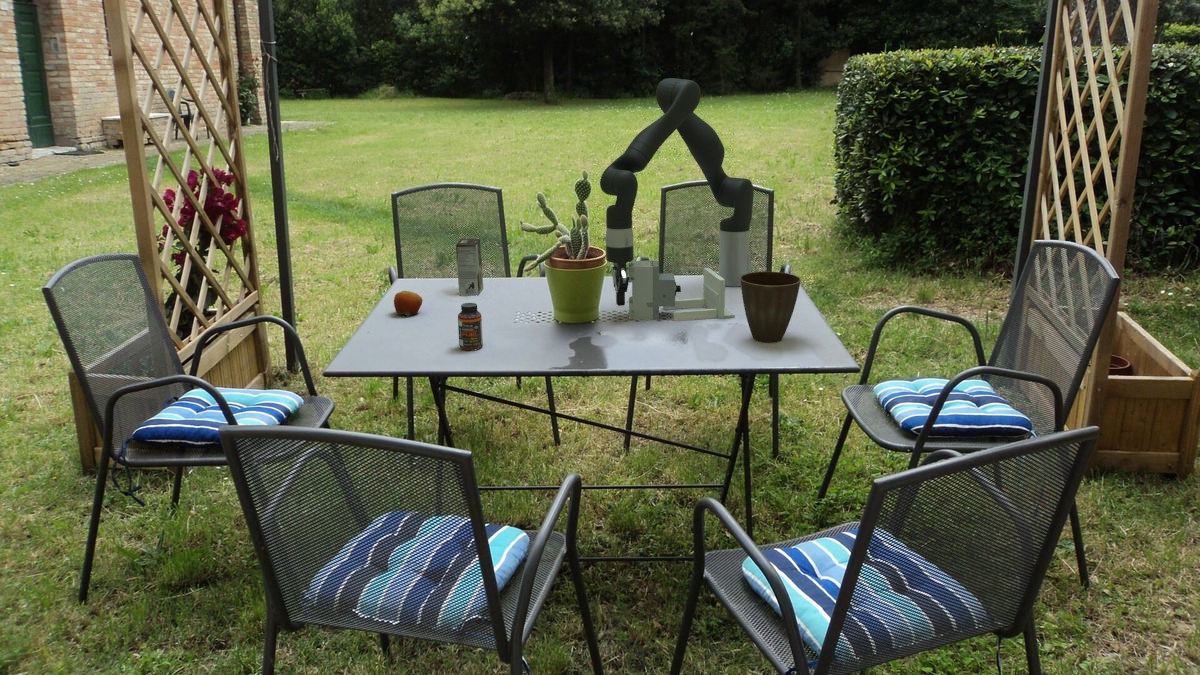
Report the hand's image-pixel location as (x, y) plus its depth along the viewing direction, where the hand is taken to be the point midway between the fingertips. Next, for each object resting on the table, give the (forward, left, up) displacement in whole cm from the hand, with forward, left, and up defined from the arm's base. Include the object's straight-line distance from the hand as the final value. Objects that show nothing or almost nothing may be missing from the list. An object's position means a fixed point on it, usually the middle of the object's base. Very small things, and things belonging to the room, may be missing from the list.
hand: (620, 304), depth 257 cm
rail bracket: (-22, 0, -4) cm, 22 cm away
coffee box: (+39, -40, -4) cm, 56 cm away
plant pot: (-33, +28, -4) cm, 43 cm away
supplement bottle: (+42, +17, -4) cm, 46 cm away
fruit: (+58, -19, -4) cm, 61 cm away
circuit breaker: (-10, 0, -4) cm, 10 cm away
